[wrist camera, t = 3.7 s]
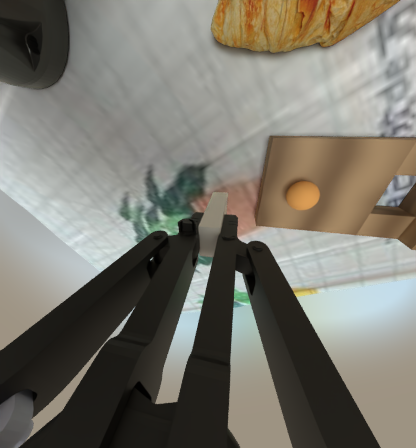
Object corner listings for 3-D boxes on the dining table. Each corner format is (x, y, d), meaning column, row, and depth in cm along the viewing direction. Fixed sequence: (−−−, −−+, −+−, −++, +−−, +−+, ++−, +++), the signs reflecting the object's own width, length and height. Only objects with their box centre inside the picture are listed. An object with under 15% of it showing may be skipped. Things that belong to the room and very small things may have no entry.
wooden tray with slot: (254, 216, 25) (257, 233, 21) (269, 135, 19) (276, 140, 15) (405, 229, 22) (439, 252, 18) (482, 138, 16) (557, 144, 12)
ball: (280, 201, 20) (286, 214, 17) (287, 176, 18) (295, 186, 16) (307, 203, 20) (318, 216, 17) (317, 177, 18) (330, 188, 15)
